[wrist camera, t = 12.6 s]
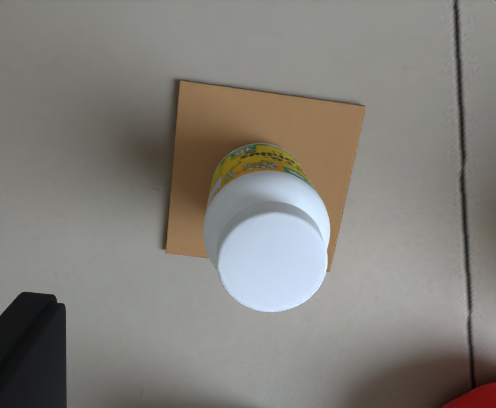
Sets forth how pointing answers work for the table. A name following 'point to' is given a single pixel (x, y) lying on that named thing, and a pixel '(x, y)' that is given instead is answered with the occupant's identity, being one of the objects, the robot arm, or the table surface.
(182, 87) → the coaster
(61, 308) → the robot arm
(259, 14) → the table surface
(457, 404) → the tomato
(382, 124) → the table surface
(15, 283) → the table surface
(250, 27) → the table surface
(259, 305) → the supplement bottle
